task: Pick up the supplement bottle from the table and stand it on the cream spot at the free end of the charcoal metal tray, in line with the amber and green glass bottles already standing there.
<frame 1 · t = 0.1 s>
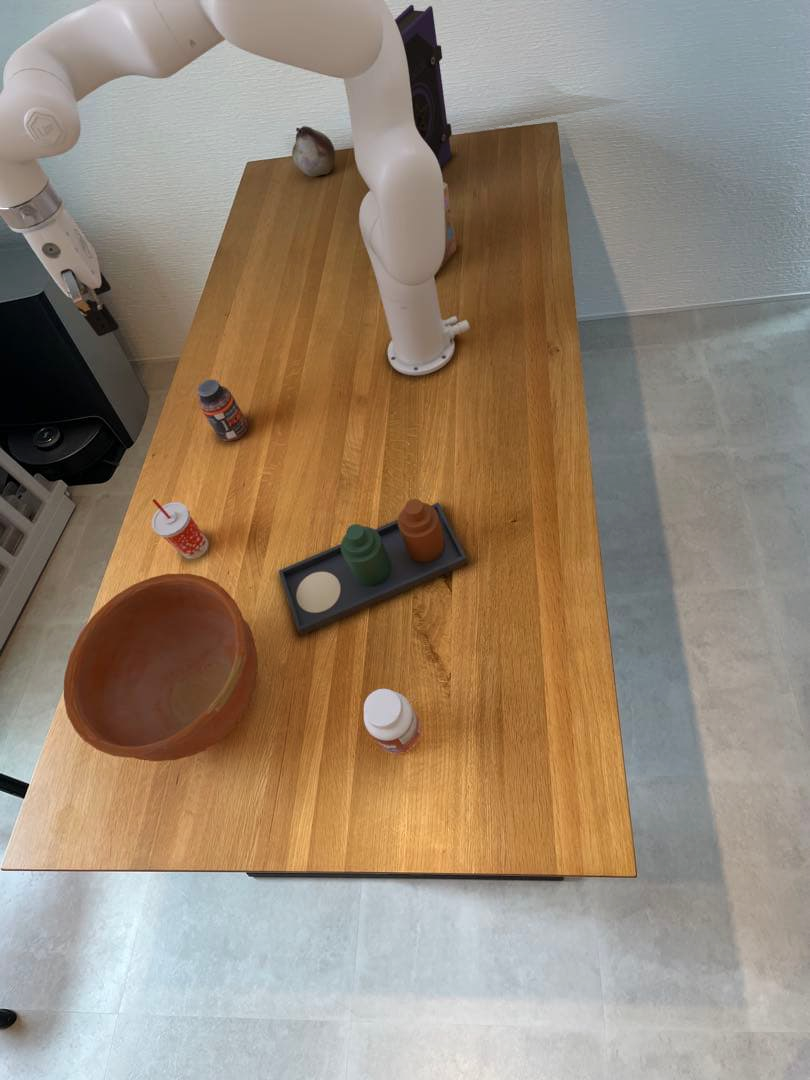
hand: (105, 311, 100), 31 cm above the table, tool pointing down, fingers open, 9 cm apart
milk carton: (422, 260, 142), on the table
beverage cup: (195, 547, 114), on the table
target spot: (318, 592, 104), resting on tray
tray: (373, 570, 105), on the table
supplement bottle: (234, 430, 126), on the table
pill bottle: (399, 732, 92), on the table
book: (416, 183, 156), on the table
green bottle: (372, 568, 105), resting on tray
fruit: (319, 172, 166), on the table
amber bottle: (426, 545, 105), resting on tray
bowl: (203, 694, 100), on the table
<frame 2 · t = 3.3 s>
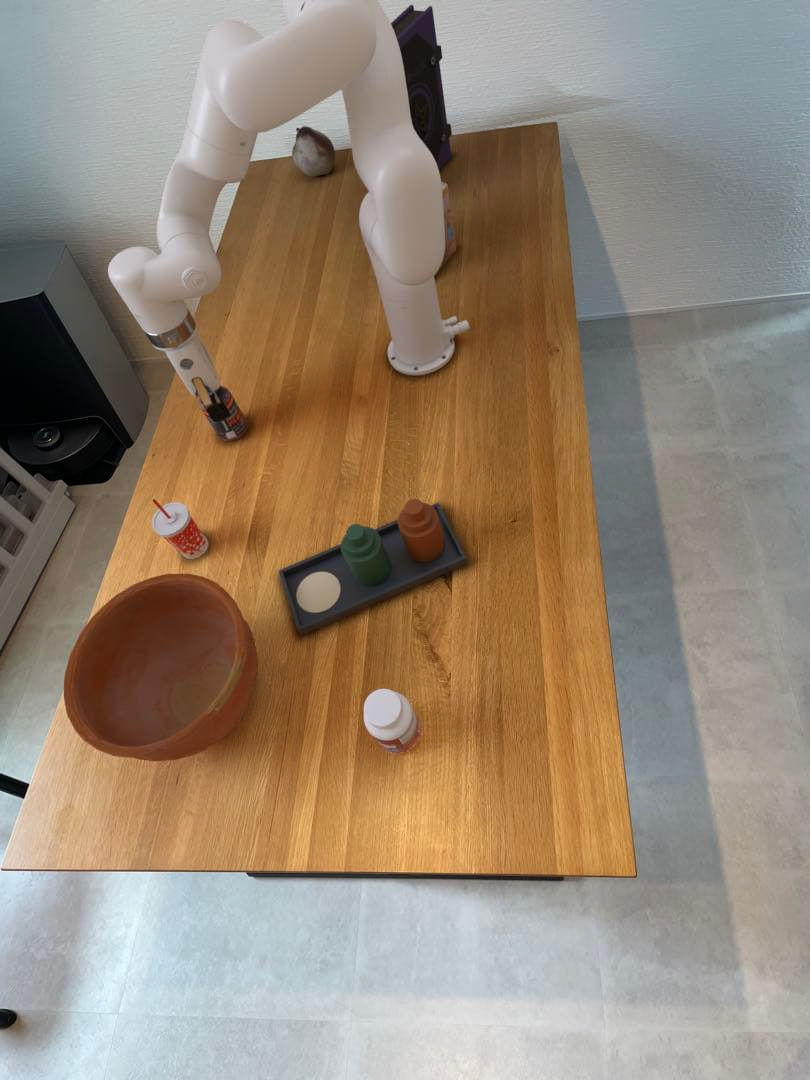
hand: (217, 404, 120), 7 cm above the table, tool pointing down, fingers closed on supplement bottle, 6 cm apart
supplement bottle: (234, 430, 126), on the table, touching gripper
everything else where it was.
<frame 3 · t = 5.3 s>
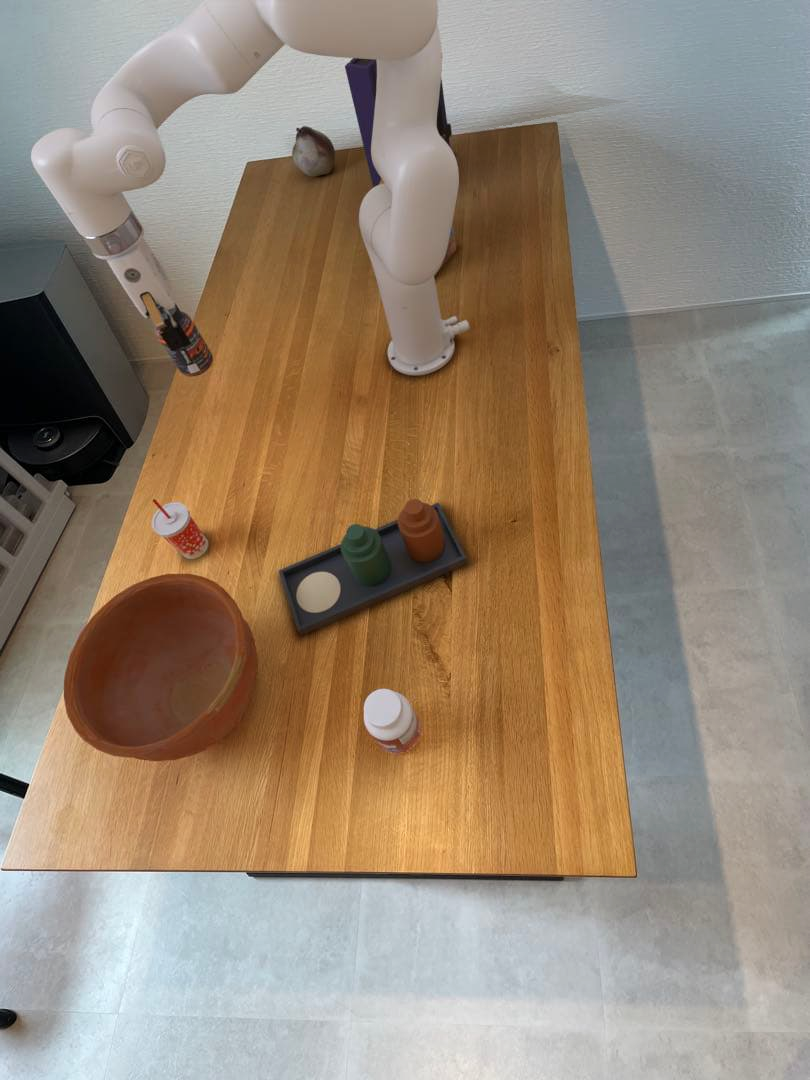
hand: (177, 332, 106), 24 cm above the table, tool pointing down, fingers closed on supplement bottle, 6 cm apart
supplement bottle: (198, 365, 112), point 17 cm above the table, touching gripper
everything else where it was.
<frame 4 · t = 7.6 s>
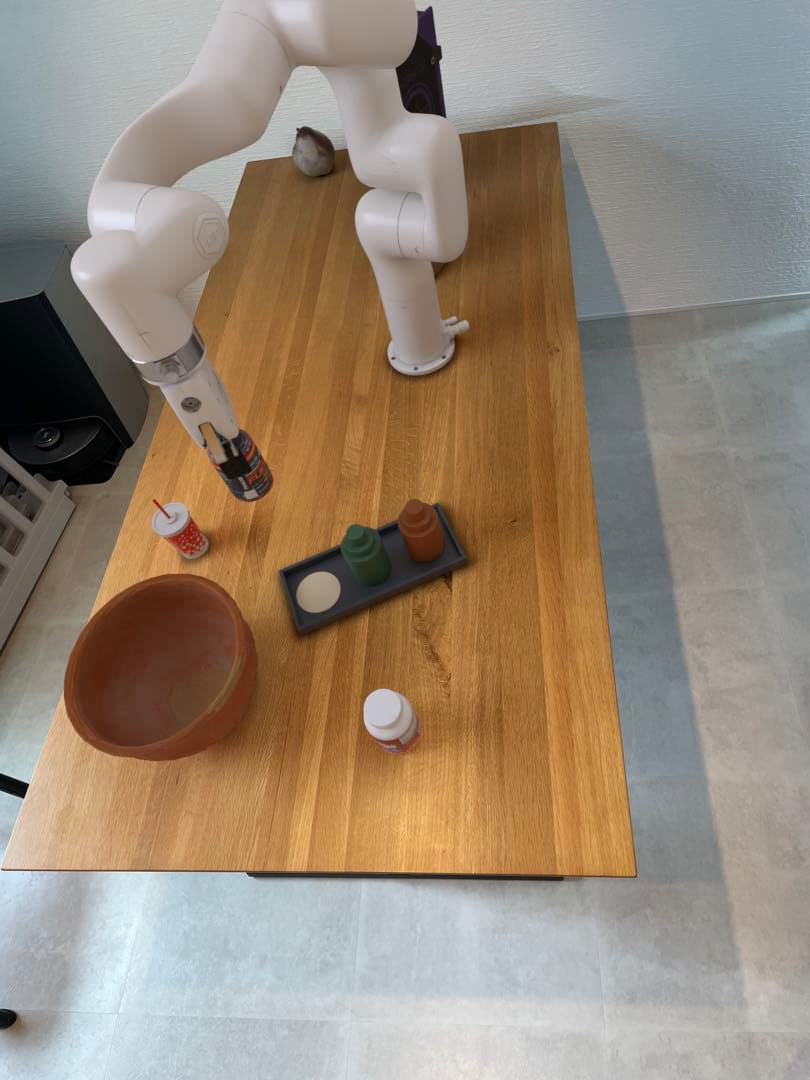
hand: (234, 454, 86), 27 cm above the table, tool pointing down, fingers closed on supplement bottle, 6 cm apart
supplement bottle: (254, 486, 93), point 19 cm above the table, touching gripper
everything else where it was.
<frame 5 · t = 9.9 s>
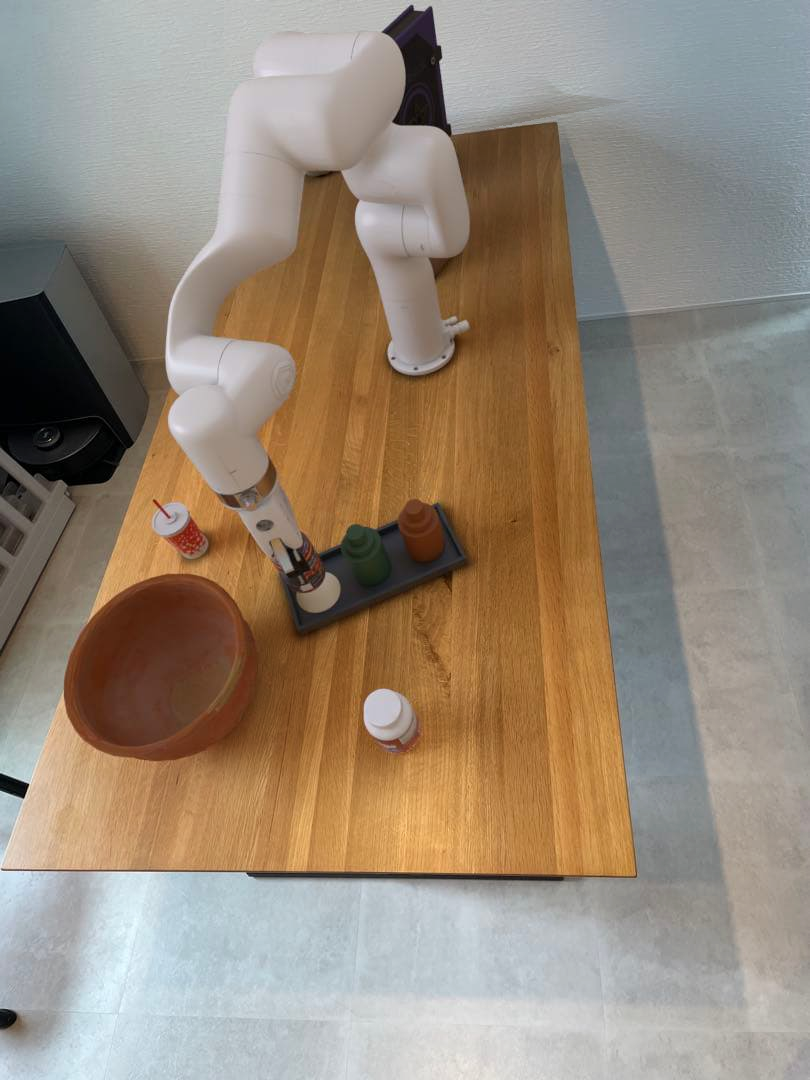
hand: (292, 553, 94), 13 cm above the table, tool pointing down, fingers closed on supplement bottle, 6 cm apart
supplement bottle: (307, 577, 100), point 6 cm above the table, touching gripper
everything else where it was.
when the fingers open (8 cm above the table, at t = 11.8 s): supplement bottle stays where it is, resting on target spot.
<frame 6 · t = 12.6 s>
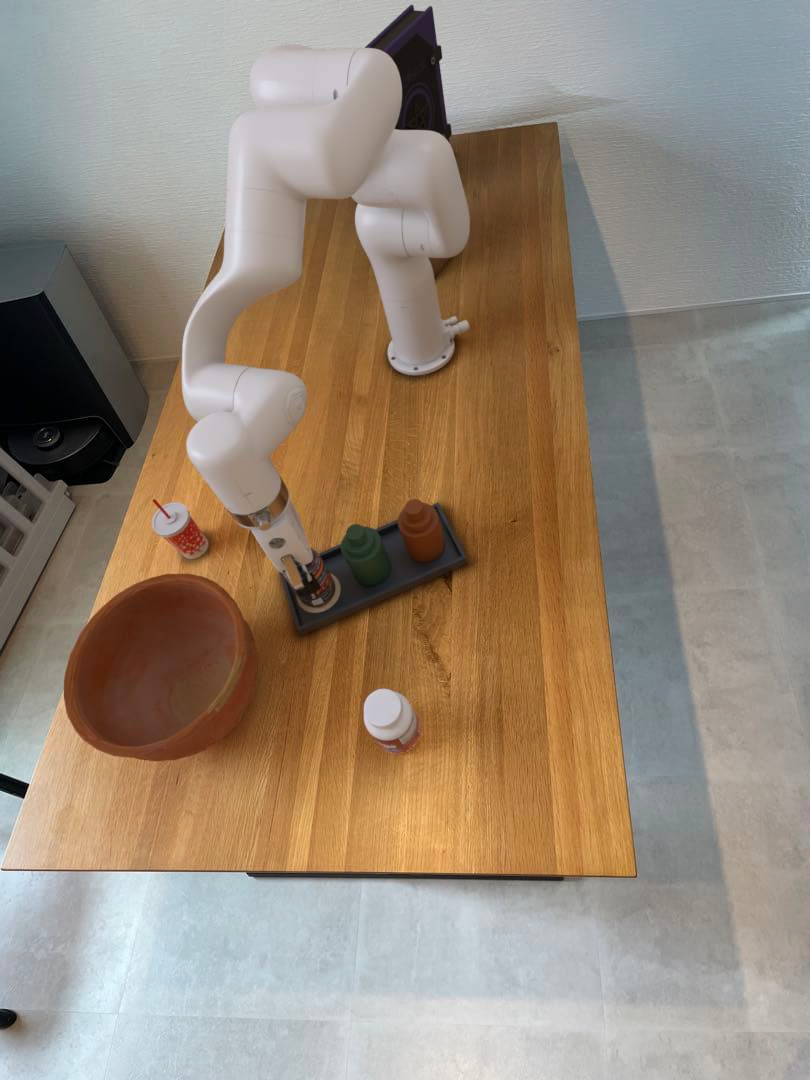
hand: (300, 564, 97), 9 cm above the table, tool pointing down, fingers open, 9 cm apart
supplement bottle: (318, 591, 104), resting on target spot
everything else where it was.
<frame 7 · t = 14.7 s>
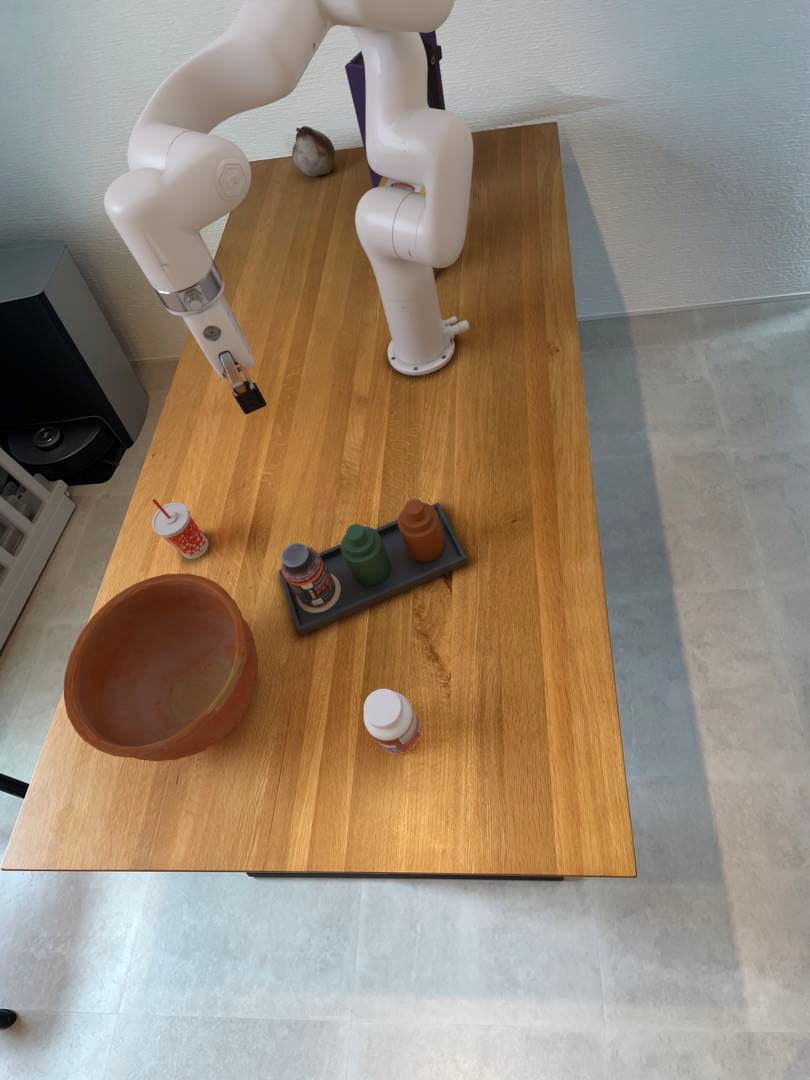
hand: (246, 385, 93), 26 cm above the table, tool pointing down, fingers open, 9 cm apart
nothing on the table moved.
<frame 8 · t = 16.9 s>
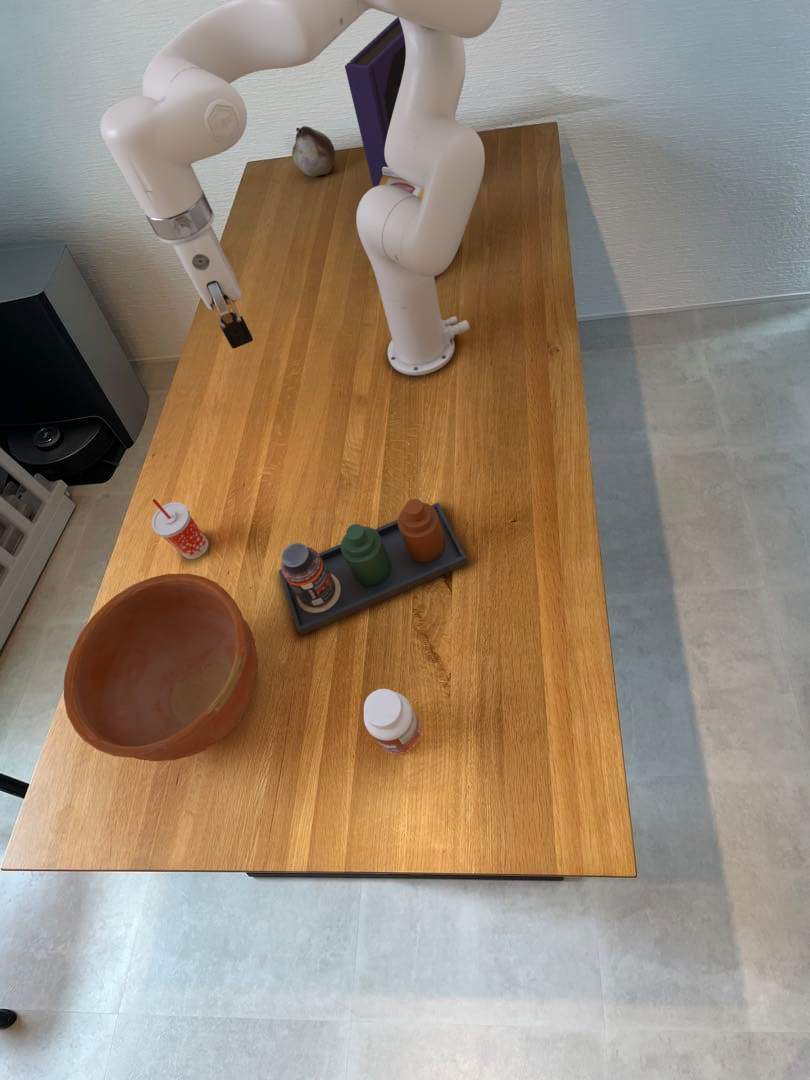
hand: (235, 322, 97), 28 cm above the table, tool pointing down, fingers open, 9 cm apart
nothing on the table moved.
at the end: supplement bottle 0.1 cm from the target spot in the tray, point 0.4 cm above the tray's base; supplement bottle tilted 0°; green bottle moved 0.0 cm from its start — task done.
